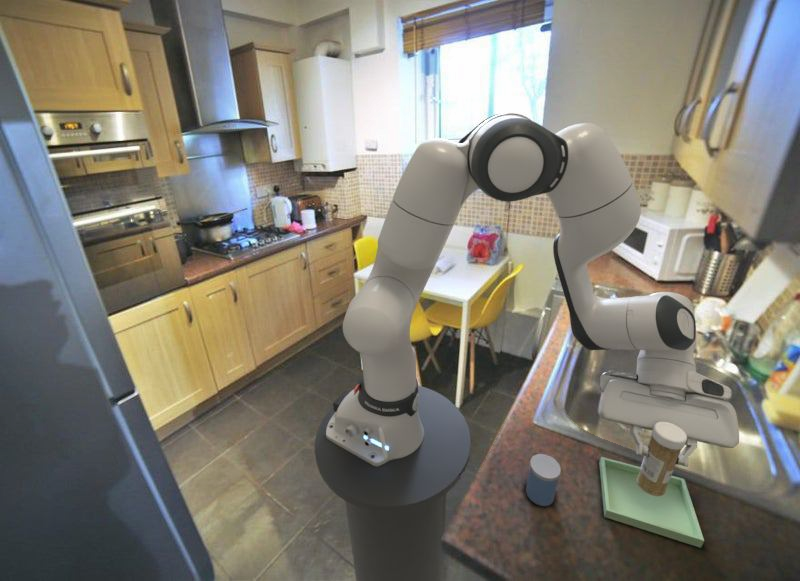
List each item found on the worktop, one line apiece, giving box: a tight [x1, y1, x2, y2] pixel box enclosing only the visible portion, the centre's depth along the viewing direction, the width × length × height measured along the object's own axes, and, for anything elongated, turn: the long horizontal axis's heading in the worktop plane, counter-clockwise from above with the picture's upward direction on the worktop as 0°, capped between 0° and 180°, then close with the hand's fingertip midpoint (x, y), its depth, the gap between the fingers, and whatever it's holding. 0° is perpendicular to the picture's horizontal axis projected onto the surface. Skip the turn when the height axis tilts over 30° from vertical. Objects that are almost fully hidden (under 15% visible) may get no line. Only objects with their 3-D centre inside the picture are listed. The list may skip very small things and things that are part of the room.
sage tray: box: [598, 456, 705, 549], centre depth 67 cm, size 14×12×2 cm
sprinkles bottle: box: [636, 422, 687, 496], centre depth 63 cm, size 5×5×14 cm
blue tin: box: [525, 453, 562, 507], centre depth 68 cm, size 5×5×8 cm
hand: (661, 460), depth 62 cm, fingers closed on sprinkles bottle, 4 cm apart
